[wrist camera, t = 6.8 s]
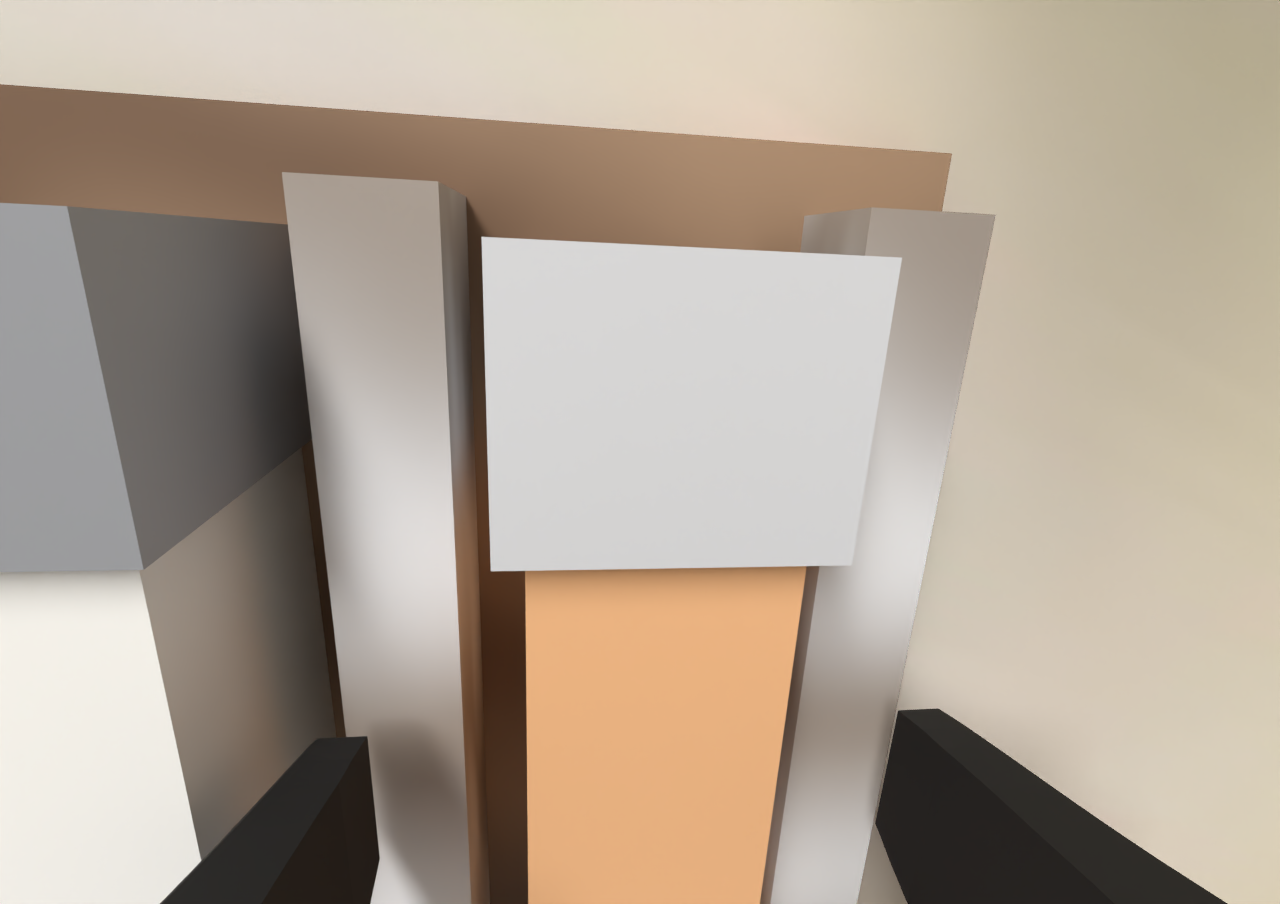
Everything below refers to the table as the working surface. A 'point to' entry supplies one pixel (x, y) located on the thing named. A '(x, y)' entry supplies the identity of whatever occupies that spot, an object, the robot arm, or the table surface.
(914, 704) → the table surface
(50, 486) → the capped white pillar
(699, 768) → the capped square column
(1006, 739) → the table surface
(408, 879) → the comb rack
